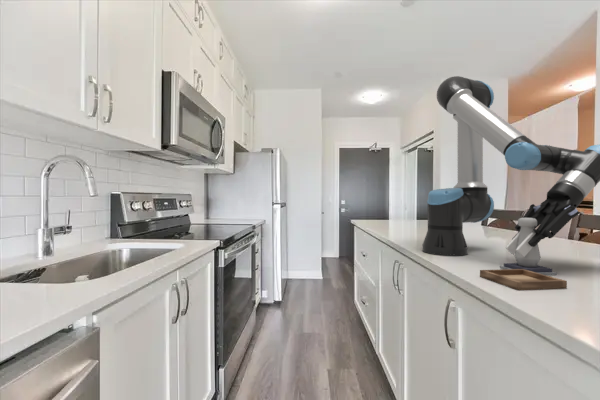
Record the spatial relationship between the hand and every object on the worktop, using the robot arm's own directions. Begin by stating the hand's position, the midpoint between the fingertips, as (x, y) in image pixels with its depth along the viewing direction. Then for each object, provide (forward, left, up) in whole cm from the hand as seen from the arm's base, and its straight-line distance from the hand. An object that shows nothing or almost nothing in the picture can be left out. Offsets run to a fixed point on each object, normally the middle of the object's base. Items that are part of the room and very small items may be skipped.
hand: (514, 252), depth 88 cm
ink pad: (0, +4, -5) cm, 7 cm away
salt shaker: (0, +4, -4) cm, 6 cm away
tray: (+10, -7, -5) cm, 13 cm away
